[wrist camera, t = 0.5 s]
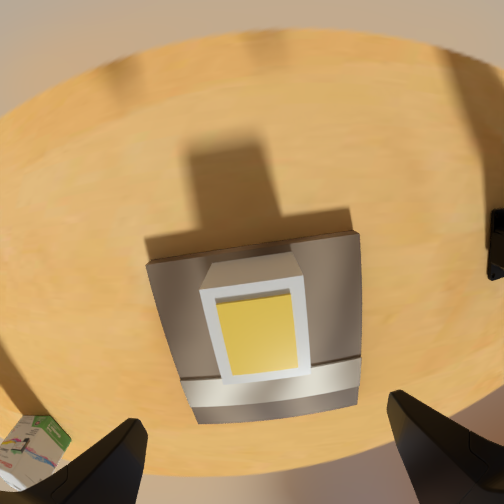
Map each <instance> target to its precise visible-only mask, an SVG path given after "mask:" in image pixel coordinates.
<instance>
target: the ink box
mask: <svg viewBox="0 0 504 504" xmlns="http://www.w3.org/2000/svg"><path fill="white" fill-rule="evenodd" d="M70 442H71V438H70V437H69V436H68V435H67V434H66V433H65V432H64V431H63V430H62V429H61V427H60V426H59V425H58V424H57V423H56V422H55V421H54V420H53V418H52V417H51V416H22V418H21V419H20V420H19V421H18V423H17V424H16V425H15V427H14V428H13V429H12V430H11V432H10V433H9V434H8V436H7V437H6V438H5V440H4V441H3V442H2V444H1V445H0V477H1V478H2V479H3V480H4V481H5V482H6V483H7V484H9V485H10V486H11V487H13V488H15V489H16V490H18V491H23V490H25V489H27V488H29V487H31V486H33V485H35V484H37V483H38V482H40V481H42V480H44V479H46V478H47V477H49V476H51V475H52V474H53V472H54V470H55V468H56V467H57V465H58V463H59V461H60V460H61V458H62V456H63V454H64V453H65V451H66V449H67V447H68V446H69V444H70Z"/></svg>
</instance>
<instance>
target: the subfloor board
mask: <svg viewBox="0 0 504 504" xmlns="http://www.w3.org/2000/svg"><path fill="white" fill-rule="evenodd" d="M285 252H292V253H293V255H294V257H295V259H296V261H297V263H298V265H299V267H300V270H301V272H302V274H303V277H304V288H305V298H306V309H307V321H308V334H309V347H310V362H311V374H309V375H303V376H297V377H290V378H283V379H276V380H268V381H259V382H250V383H240V384H228V385H223V382H222V378H221V375H220V371H219V367H218V364H217V360H216V356H215V353H214V349H213V345H212V341H211V337H210V333H209V329H208V325H207V321H206V317H205V313H204V309H203V305H202V300H201V296H200V292H199V289H200V287H201V285H202V283H203V281H204V279H205V277H206V275H207V272H208V270H209V268H210V266H211V264H212V263H216V262H223V261H230V260H237V259H244V258H250V257H257V256H264V255H271V254H278V253H285ZM146 269H147V273H148V277H149V281H150V285H151V289H152V292H153V296H154V299H155V303H156V306H157V310H158V313H159V317H160V320H161V323H162V326H163V330H164V333H165V336H166V339H167V342H168V345H169V348H170V351H171V354H172V357H173V360H174V363H175V365H176V368H177V371H178V374H179V377H180V379H181V380H180V382H181V385H182V387H183V390H184V393H185V395H186V398H187V400H188V403H189V405H190V407H191V408H192V410H193V412H194V415H195V417H196V420H197V422H198V424H223V423H241V422H253V421H264V420H273V419H281V418H289V417H295V416H302V415H308V414H314V413H319V412H325V411H330V410H335V409H339V408H344V407H348V406H353V405H357V400H358V389H359V386H360V374H361V337H362V275H361V251H360V234H359V233H357V232H356V231H354V230H352V231H345V232H338V233H331V234H324V235H317V236H310V237H303V238H296V239H289V240H282V241H275V242H268V243H262V244H255V245H248V246H241V247H235V248H228V249H221V250H214V251H208V252H201V253H194V254H188V255H181V256H175V257H168V258H162V259H155V260H151V261H150V262H148V263H147V264H146Z"/></svg>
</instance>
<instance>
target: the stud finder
mask: <svg viewBox="0 0 504 504" xmlns="http://www.w3.org/2000/svg"><path fill="white" fill-rule="evenodd" d="M199 292H200V296H201V300H202V305H203V309H204V313H205V317H206V321H207V325H208V329H209V333H210V337H211V341H212V345H213V349H214V353H215V356H216V360H217V364H218V367H219V371H220V375H221V378H222V382H223V385H228V384H240V383H250V382H259V381H268V380H276V379H283V378H290V377H297V376H303V375H309V374H311V362H310V347H309V334H308V321H307V309H306V298H305V288H304V277H303V274H302V272H301V270H300V267H299V265H298V263H297V261H296V259H295V257H294V255H293V253H292V252H285V253H278V254H271V255H264V256H257V257H250V258H244V259H237V260H230V261H223V262H216V263H212V264H211V266H210V268H209V270H208V272H207V275H206V277H205V279H204V281H203V283H202V285H201V287H200V289H199Z"/></svg>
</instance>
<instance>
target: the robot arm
mask: <svg viewBox="0 0 504 504" xmlns="http://www.w3.org/2000/svg"><path fill="white" fill-rule="evenodd" d="M502 277H504V208H498V209H493V210H492V213H491V241H490V257H489V268H488V279H489V280H491V281H494V280H497V279H499V278H502ZM387 414H388V418H389V421H390V425H391V428H392V432H393V435H394V439H395V442H396V446H397V448H398V451H399V453H400V456H401V458H402V460H403V463H404V465H405V468H406V470H407V473H408V475H409V478H410V480H411V483H412V485H413V488H414V490H415V493H416V495H417V498H418V501H419V503H420V504H504V446H502V445H499V444H496V443H494V442H492V441H489V440H487V439H485V438H483V437H481V436H479V435H477V434H476V433H474V432H472V431H470V432H469V429H467V428H465V427H463V426H461V425H460V424H458V423H456V422H455V421H453V420H451V419H449V418H448V417H446V416H444V415H443V414H441V413H439V412H438V411H436V410H434V409H432V408H431V407H429V406H427V405H426V404H424V403H422V402H421V401H419V400H417V399H416V398H414V397H413V396H411V395H409V394H408V393H406V392H404V391H403V390H396V391H393V392H390V394H389V398H388V403H387ZM147 440H148V434H147V431H146V430H145V428H144V426H143V425H142V423H141V421H140V420H139V419H136V418H128V419H127V420H125V421H124V422H123V423H122V424H120V425H119V426H118V427H116V428H115V429H114V430H113V431H111V432H110V433H109V434H107V435H106V436H105V437H104V438H102V439H101V440H100V441H98V442H97V443H96V444H94V445H93V446H92V447H90V448H89V449H88V450H86V451H85V452H84V453H82V454H81V455H80V456H78V457H77V458H76V459H74V460H73V461H71V462H70V463H69V464H68V465H66V466H65V467H63V468H62V469H60V470H59V471H57V472H56V473H54V474H53V475H51V476H49V477H47V478H46V479H44V480H42V481H40V482H38V483H37V484H35V485H33V486H31V487H29V488H27V489H25V490H23V491H19V492H6V491H0V504H135V503H136V499H137V494H138V490H139V486H140V481H141V478H142V474H143V469H144V463H145V455H146V447H147Z"/></svg>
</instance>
